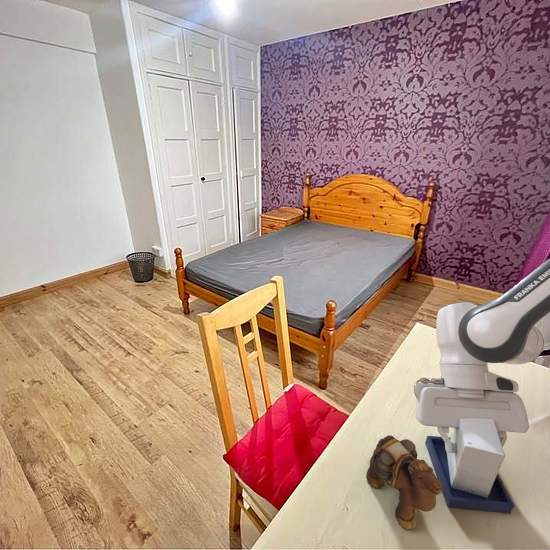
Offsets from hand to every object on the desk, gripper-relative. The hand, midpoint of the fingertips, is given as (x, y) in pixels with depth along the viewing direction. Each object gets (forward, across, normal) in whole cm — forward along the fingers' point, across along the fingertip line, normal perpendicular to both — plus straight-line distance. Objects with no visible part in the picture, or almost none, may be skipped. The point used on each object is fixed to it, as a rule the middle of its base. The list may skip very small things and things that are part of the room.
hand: (474, 454), depth 60 cm
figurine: (+9, -15, +2) cm, 17 cm away
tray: (+5, 0, +6) cm, 8 cm away
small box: (+5, 0, +5) cm, 7 cm away
